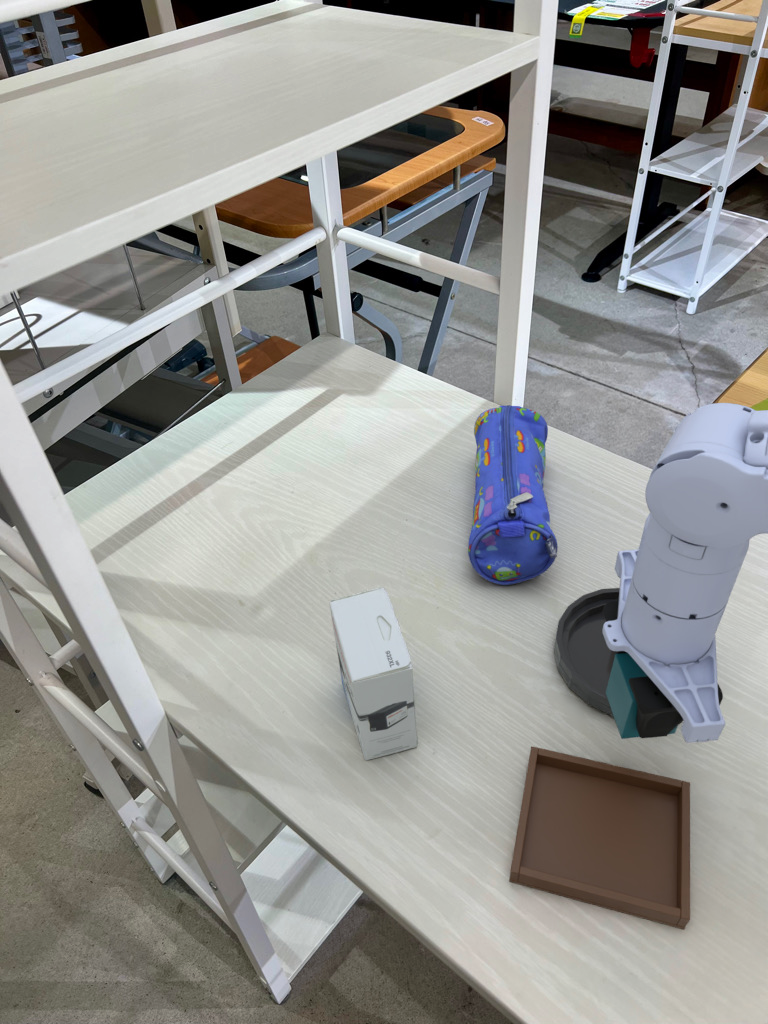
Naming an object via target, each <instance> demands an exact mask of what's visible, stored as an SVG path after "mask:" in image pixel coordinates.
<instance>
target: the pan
mask: <svg viewBox="0 0 768 1024" xmlns="http://www.w3.org/2000/svg"><path fill="white" fill-rule="evenodd" d="M619 591H620V587H612V588H611V587H609V588H601V589H598V590H595V591H592V592H591V591H590V592H589V593H586V594H583V595H581V596H580V597H579V598H577V599H575V600H574V601H573V602H571V603H570V604H568V605H567V607H566V609H565V610H564V612H563V614H562V615H561V617H560V618H559V620H558V623H557V630H556V635H555V642H554V648H553V654H554V657H555V662H556V666H557V669H558V673H559V674H560V675H561V677H562V678H563V680H564V681H565V684H566V685H567V686H568V687H569V689H570V690H571V691H572V692H574V693H575V694H576V695H577V696H578V697H579V698H580V699H582V700H583V701H584V702H585V703H586V704H588V705H589V706H591V707H593V708H595V709H597V710H599V711H601V712H603V713H605V714H607V715H609V716H613V713H612V710H611V707H610V704H609V701H608V698H607V695H606V690H607V686H608V682H609V678H610V674H611V670H612V666H613V662H614V658H615V651H612V650H610V649H609V648H608V646H607V644H606V641H605V638H604V635H603V631H602V630H603V625H604V623H605V622H606V620H605V617H604V614H603V607H604V605H605V604H606V603H608V602H610V601H616V600H619Z"/></svg>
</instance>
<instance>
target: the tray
mask: <svg viewBox="0 0 768 1024" xmlns="http://www.w3.org/2000/svg"><path fill="white" fill-rule="evenodd" d="M508 882H510V883H514V884H517V885H520V886H524V887H528V888H532V889H535V890H538V891H543V892H547V893H549V894H553V895H557V896H561V897H563V898H567V899H572V900H575V901H578V902H582V903H586V904H590V905H593V906H597V907H601V908H605V909H609V910H611V911H616V912H618V913H623V914H626V915H629V916H633V917H637V918H640V919H644V920H648V921H652V922H655V923H659V924H663V925H666V926H670V927H673V928H677V929H680V930H685V929H686V927H687V926H688V924H689V922H690V920H691V782H689V781H686V780H682V779H676V778H673V777H668V776H664V775H659V774H655V773H650V772H646V771H642V770H637V769H634V768H633V769H632V768H628V767H624V766H620V765H617V764H610V763H606V762H603V761H597V760H593V759H589V758H586V757H585V758H584V757H580V756H576V755H572V754H567V753H562V752H558V751H554V750H550V749H545V748H542V747H538V746H537V747H536V746H530V752H529V758H528V764H527V771H526V775H525V783H524V788H523V793H522V800H521V805H520V812H519V817H518V824H517V830H516V835H515V842H514V849H513V854H512V860H511V867H510V873H509V880H508Z"/></svg>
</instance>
